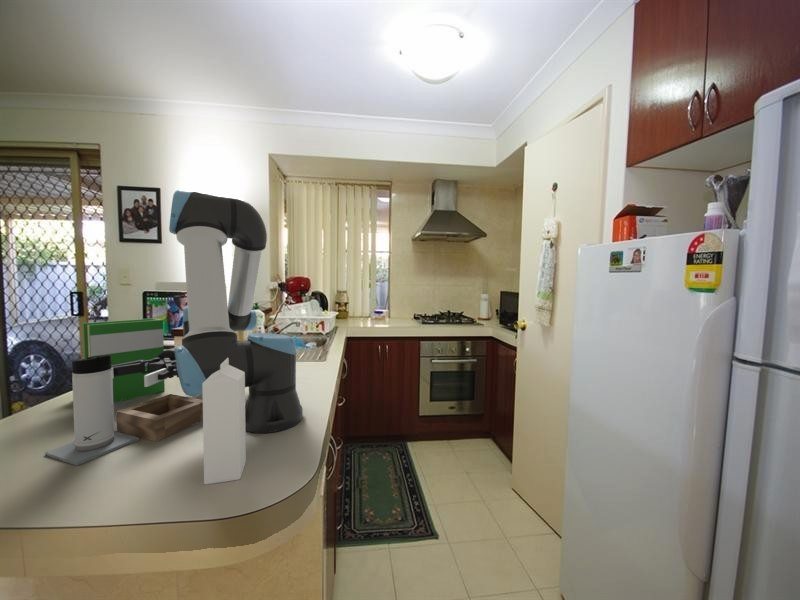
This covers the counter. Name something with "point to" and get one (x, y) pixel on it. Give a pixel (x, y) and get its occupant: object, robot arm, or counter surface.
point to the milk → (224, 424)
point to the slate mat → (79, 457)
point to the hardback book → (126, 351)
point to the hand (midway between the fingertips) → (116, 381)
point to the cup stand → (160, 417)
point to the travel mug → (93, 402)
